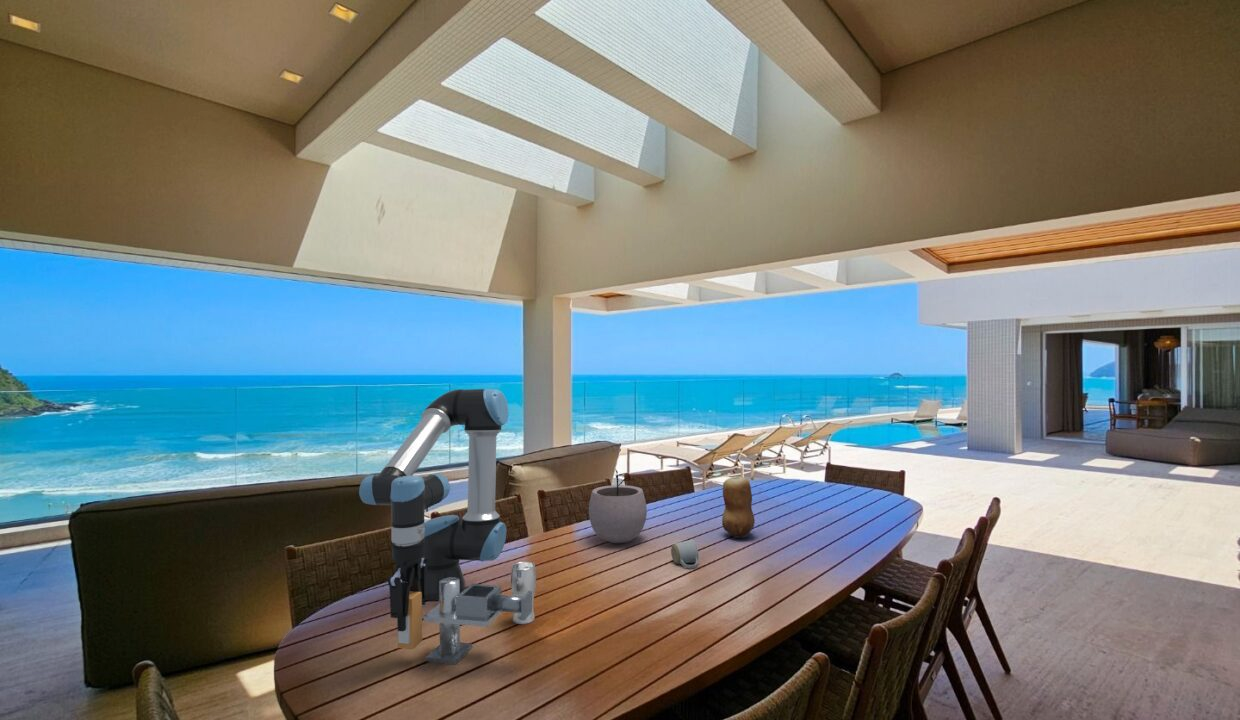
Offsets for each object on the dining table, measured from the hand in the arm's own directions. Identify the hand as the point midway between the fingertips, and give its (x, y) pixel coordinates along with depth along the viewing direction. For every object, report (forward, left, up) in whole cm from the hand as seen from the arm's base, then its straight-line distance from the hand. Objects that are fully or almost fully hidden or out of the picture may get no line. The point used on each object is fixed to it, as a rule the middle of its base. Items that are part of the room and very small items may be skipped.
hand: (410, 637), depth 129 cm
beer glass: (+19, +25, -6) cm, 32 cm away
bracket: (+20, +4, +5) cm, 22 cm away
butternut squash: (+80, +111, -6) cm, 137 cm away
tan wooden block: (0, 0, -2) cm, 2 cm away
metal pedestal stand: (+12, +4, -6) cm, 14 cm away
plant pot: (+31, +98, -6) cm, 103 cm away
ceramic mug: (+61, +77, -6) cm, 98 cm away
